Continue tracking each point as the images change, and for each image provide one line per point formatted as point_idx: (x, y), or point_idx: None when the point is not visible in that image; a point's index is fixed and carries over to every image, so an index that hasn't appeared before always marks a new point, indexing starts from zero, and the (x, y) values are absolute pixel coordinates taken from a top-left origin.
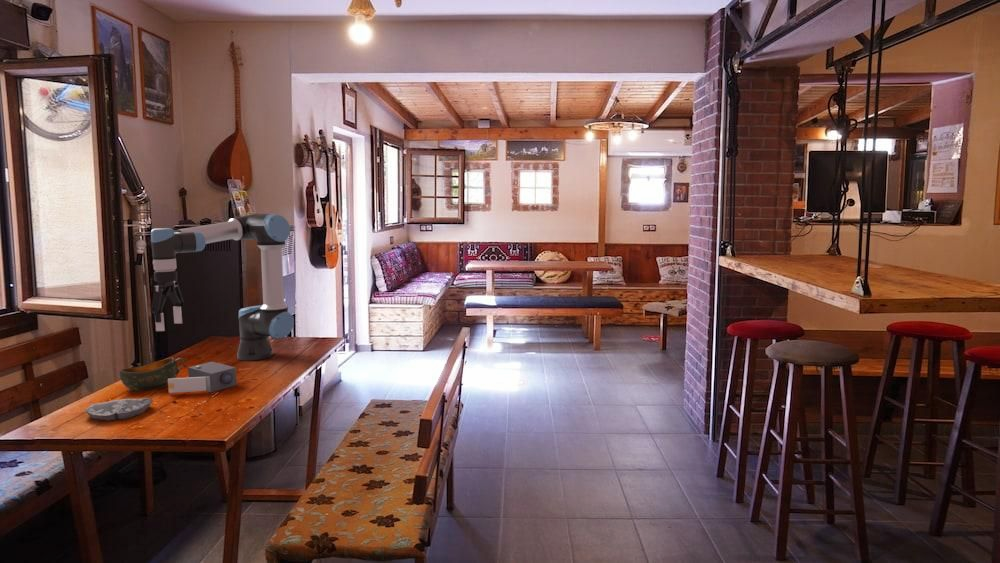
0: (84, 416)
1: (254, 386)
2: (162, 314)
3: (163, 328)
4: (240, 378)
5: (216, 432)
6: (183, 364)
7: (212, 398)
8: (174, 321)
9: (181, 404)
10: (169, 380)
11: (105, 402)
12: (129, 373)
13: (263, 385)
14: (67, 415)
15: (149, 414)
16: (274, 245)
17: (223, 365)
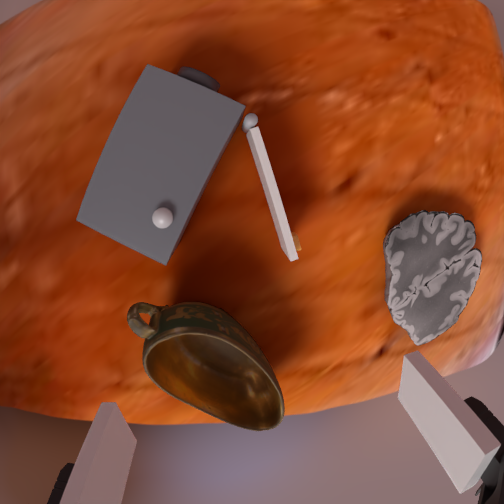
0: None
1: (173, 25)
2: (492, 438)
3: (427, 361)
4: (91, 119)
5: (475, 16)
6: (140, 303)
7: (304, 86)
8: (132, 450)
9: (364, 151)
10: (296, 252)
11: (409, 329)
12: (282, 396)
13: (162, 8)
14: None
15: (432, 194)
16: None
17: (120, 132)
